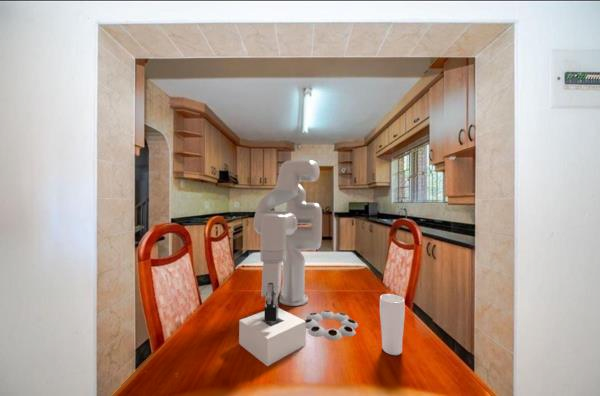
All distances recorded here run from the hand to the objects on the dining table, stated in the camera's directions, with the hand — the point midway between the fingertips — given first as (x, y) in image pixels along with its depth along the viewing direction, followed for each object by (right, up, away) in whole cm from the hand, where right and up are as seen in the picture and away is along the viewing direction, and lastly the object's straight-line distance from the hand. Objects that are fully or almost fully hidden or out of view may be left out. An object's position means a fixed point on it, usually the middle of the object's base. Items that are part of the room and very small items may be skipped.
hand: (272, 312), depth 74 cm
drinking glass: (+35, -10, -3) cm, 36 cm away
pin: (0, -7, 0) cm, 7 cm away
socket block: (0, -9, 0) cm, 9 cm away
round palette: (+19, -10, +12) cm, 24 cm away
